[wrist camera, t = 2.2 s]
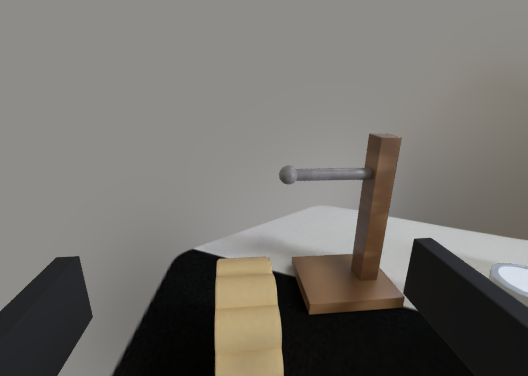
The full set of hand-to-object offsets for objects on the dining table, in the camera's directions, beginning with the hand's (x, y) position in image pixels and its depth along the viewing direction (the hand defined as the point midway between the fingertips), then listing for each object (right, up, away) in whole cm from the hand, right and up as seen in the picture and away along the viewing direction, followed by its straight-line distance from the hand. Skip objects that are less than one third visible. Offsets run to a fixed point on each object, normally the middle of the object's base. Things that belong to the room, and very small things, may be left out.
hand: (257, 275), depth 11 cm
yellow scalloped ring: (-2, -14, +15) cm, 21 cm away
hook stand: (+9, -10, +28) cm, 31 cm away
